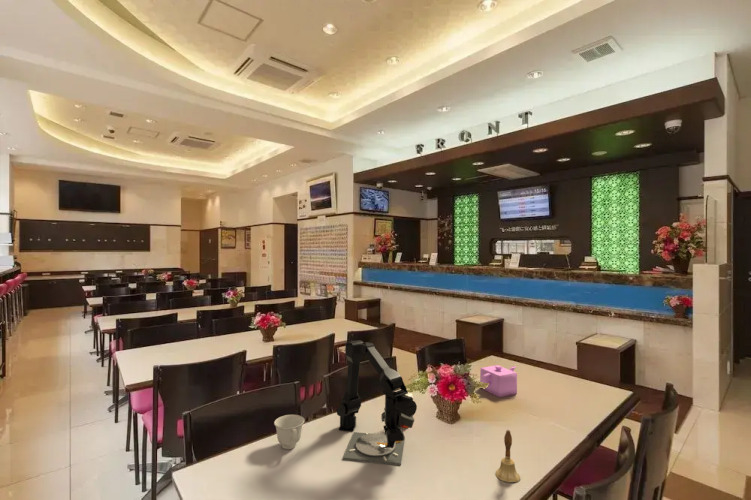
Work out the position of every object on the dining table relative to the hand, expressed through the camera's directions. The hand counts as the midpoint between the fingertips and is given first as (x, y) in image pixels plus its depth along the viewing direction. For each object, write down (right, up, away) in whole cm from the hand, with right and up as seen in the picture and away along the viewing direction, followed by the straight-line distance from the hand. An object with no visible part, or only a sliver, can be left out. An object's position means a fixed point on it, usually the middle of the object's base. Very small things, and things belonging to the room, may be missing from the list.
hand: (391, 447), depth 146 cm
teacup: (-41, -3, +5) cm, 41 cm away
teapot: (+64, -3, +68) cm, 94 cm away
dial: (-6, -2, +4) cm, 8 cm away
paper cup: (+7, -3, +25) cm, 26 cm away
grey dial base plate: (-6, -3, +4) cm, 8 cm away
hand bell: (+41, -4, -13) cm, 43 cm away
